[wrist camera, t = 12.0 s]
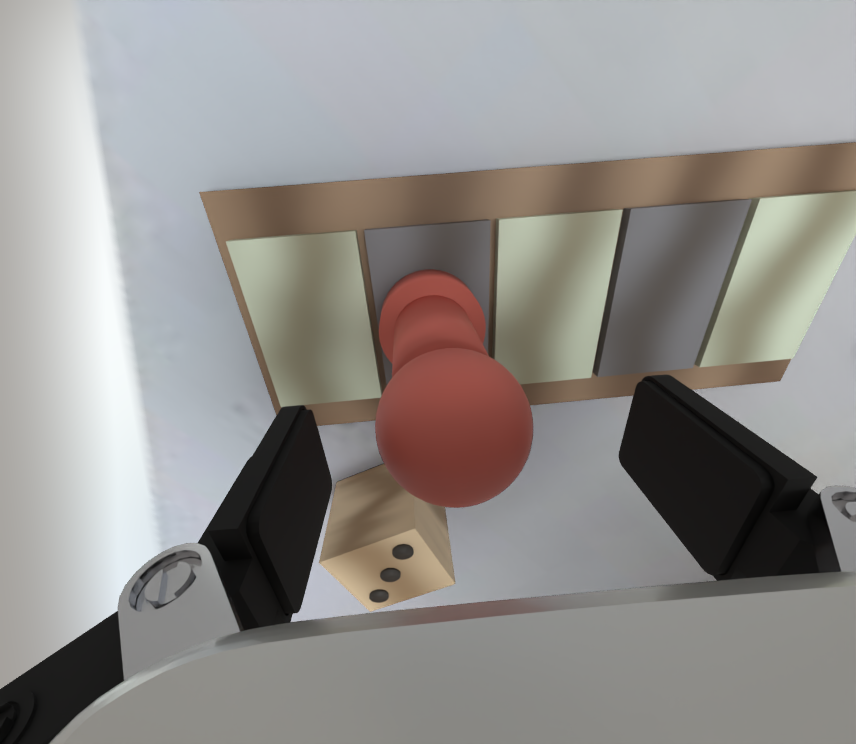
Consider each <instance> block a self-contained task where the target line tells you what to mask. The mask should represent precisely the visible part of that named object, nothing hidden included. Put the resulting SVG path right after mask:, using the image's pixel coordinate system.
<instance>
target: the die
mask: <svg viewBox="0 0 856 744" xmlns="http://www.w3.org/2000/svg"><path fill="white" fill-rule="evenodd" d="M319 563H320V564H321V565H322V566H323V567H324V568H325V569H326V570H327V571H328V572H329V573H330V574H331V575H332V576H333V577H335V578H336V579H337V580H338V581H339V582H340V583H341V584H342V585H343V586H344V587H345V588H346V589H347V590H348V591H349V592H350V593H351V594H352V595H353V596H354V597H355V598H356V599H357V600H358V601H359V602H361V603H362V604H363V605H364V606H365V607H366V608H367V609H368V610H369V611H370V612H371V611H374V610H377V609H380V608H383V607H386V606H389V605H392V604H395V603H398V602H401V601H404V600H408V599H411V598H414V597H417V596H420V595H423V594H426V593H429V592H432V591H435V590H438V589H441V588H444V587H447V586H451V585H454V584H455V577H454V570H453V563H452V555H451V548H450V541H449V534H448V526H447V519H446V512H445V507H443V506H437V505H433V504H430V503H427V502H425V501H423V500H421V499H419V498H417V497H415V496H413V495H412V494H410V493H409V492H408V491H406V490H405V489H404V488H403V487H402V486H400V485H399V484H398V483H397V481H396V480H395V479H394V478H393V477H392V475H391V474H390V473H389V471H388V470H387V468H386V466H385V464H382V465H379V466H377V467H374V468H372V469H369V470H367V471H364V472H361V473H359V474H356V475H354V476H351V477H349V478H346V479H343V480H341V481H338V482H337V483H336V487H335V492H334V497H333V501H332V506H331V510H330V515H329V520H328V524H327V529H326V533H325V538H324V542H323V547H322V552H321V556H320V561H319Z"/></svg>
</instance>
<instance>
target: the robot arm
mask: <svg viewBox="0 0 856 744" xmlns="http://www.w3.org/2000/svg"><path fill="white" fill-rule="evenodd" d="M619 460H620V463H621V465H622V467H623V468H624V469H625V470H626V472H627V473H628V474H629V476H630V477H631V478H632V479H633V481H634V482H635V483H636V484H637V486H638V487H639V488H640V490H641V491H642V492H643V493H644V495H645V496H646V497H647V498H648V500H649V501H650V502H651V504H652V505H653V506H654V507H655V509H656V510H657V511H658V513H659V514H660V515H661V516H662V518H663V519H664V520H665V521H666V523H667V524H668V525H669V527H670V528H671V529H672V530H673V532H674V533H675V534H676V536H677V537H678V538H679V539H680V541H681V542H682V543H683V544H684V546H685V547H686V548H687V550H688V551H689V552H690V553H691V555H692V556H693V557H694V559H695V560H696V561H697V562H698V564H699V565H700V566H701V567H702V569H703V570H704V571H705V572H707V573H708V574H711V575H713V576H714V577H715V579H716V580H717V581H709V582H698V583H686V584H675V585H663V586H651V587H640V588H629V589H618V590H607V591H596V592H585V593H574V594H563V595H552V596H542V597H531V598H520V599H509V600H498V601H488V602H478V603H467V604H457V605H447V606H437V607H426V608H416V609H406V610H396V611H385V612H375V613H366V614H358V615H349V616H340V617H332V618H323V619H315V620H306V621H297V622H290V621H291V618H292V614H293V613H298V612H299V610H300V608H301V605H302V602H303V598H304V594H305V590H306V586H307V582H308V579H309V575H310V571H311V567H312V563H313V559H314V556H315V552H316V548H317V544H318V540H319V537H320V533H321V529H322V525H323V521H324V517H325V514H326V510H327V506H328V502H329V498H330V494H331V490H332V480H331V475H330V472H329V468H328V464H327V461H326V457H325V453H324V450H323V446H322V443H321V439H320V435H319V432H318V428H317V424H316V421H315V417H314V414H313V411H312V410H311V409H310V410H307V409H306V407H305V406H304V405H297V406H285V407H282V408H281V409H280V411H279V412H278V414H277V416H276V417H275V419H274V421H273V422H272V424H271V426H270V427H269V429H268V431H267V433H266V434H265V436H264V438H263V439H262V441H261V443H260V444H259V446H258V448H257V449H256V451H255V453H254V454H253V456H252V457H250V459H249V460H248V461H247V462H246V464H245V466H244V467H243V469H242V471H241V472H240V474H239V476H238V477H237V479H236V481H235V482H234V484H233V486H232V487H231V489H230V491H229V492H228V494H227V495H226V497H225V499H224V500H223V502H222V504H221V505H220V507H219V509H218V510H217V512H216V514H215V515H214V517H213V519H212V520H211V522H210V524H209V525H208V527H207V528H206V530H205V532H204V533H203V535H202V537H201V538H200V540H199V542H198V543H186V544H182V545H178V546H174V547H172V548H170V549H168V550H166V551H164V552H162V553H160V554H158V555H157V556H155V557H154V558H152V559H151V560H149V561H148V562H147V563H146V564H144V565H143V566H142V567H141V568H140V569H139V570H138V571H137V572H136V573H135V574H134V575H133V576H132V578H131V579H130V580H129V581H128V583H127V584H126V585H125V587H124V589H123V591H122V593H121V595H120V597H119V603H118V611H117V612H115V613H114V614H112V615H111V616H109V617H108V618H106V619H105V620H103V621H102V622H100V623H99V624H97V625H96V626H94V627H93V628H91V629H90V630H88V631H87V632H85V633H84V634H82V635H81V636H79V637H78V638H76V639H75V640H74V641H72V642H70V643H69V644H67V645H66V646H64V647H63V648H61V649H60V650H58V651H57V652H55V653H54V654H52V655H51V656H49V657H48V658H46V659H45V660H43V661H42V662H40V663H39V664H38V665H36V666H34V667H33V668H31V669H30V670H28V671H27V672H25V673H24V674H22V675H21V676H19V677H18V678H16V679H15V680H13V681H12V682H10V683H9V684H7V685H6V686H4V687H3V688H1V689H0V744H856V488H854V487H849V486H830V487H826V488H825V489H823V490H822V491H821V492H820V494H817V493H816V492H815V491H813V490H812V489H810V488H811V486H812V485H813V483H814V482H815V480H816V478H817V476H815V475H814V474H812V473H811V472H809V471H808V470H807V469H805V468H804V467H802V466H801V465H799V464H798V463H796V462H795V461H794V460H792V459H791V458H789V457H788V456H786V455H785V454H783V453H782V452H781V451H779V450H778V449H776V448H775V447H773V446H772V445H770V444H769V443H768V442H766V441H765V440H763V439H762V438H760V437H759V436H757V435H756V434H755V433H753V432H752V431H750V430H749V429H747V428H746V427H744V426H743V425H742V424H740V423H739V422H737V421H736V420H734V419H733V418H731V417H730V416H729V415H727V414H726V413H724V412H723V411H721V410H720V409H719V408H717V407H716V406H714V405H713V404H711V403H710V402H708V401H707V400H706V399H704V398H703V397H701V396H700V395H698V394H697V393H695V392H694V391H693V390H691V389H690V388H688V387H687V386H685V385H684V384H682V383H681V382H680V381H678V380H677V379H675V378H674V377H672V376H670V375H667V374H664V375H652V376H646V377H644V378H643V379H642V381H641V382H638V384H637V385H636V388H635V392H634V396H633V400H632V404H631V408H630V412H629V416H628V420H627V424H626V427H625V431H624V435H623V439H622V443H621V447H620V451H619Z"/></svg>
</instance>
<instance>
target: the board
mask: <svg viewBox="0 0 856 744" xmlns="http://www.w3.org/2000/svg"><path fill="white" fill-rule="evenodd" d="M199 193H200V196H201V199H202V202H203V204H204V207H205V210H206V213H207V216H208V219H209V222H210V225H211V228H212V230H213V233H214V236H215V239H216V242H217V245H218V248H219V251H220V253H221V256H222V259H223V262H224V265H225V268H226V271H227V274H228V277H229V279H230V282H231V285H232V288H233V291H234V294H235V297H236V300H237V303H238V305H239V308H240V311H241V314H242V317H243V320H244V323H245V326H246V328H247V331H248V334H249V337H250V340H251V343H252V346H253V349H254V352H255V354H256V357H257V360H258V363H259V366H260V369H261V372H262V375H263V378H264V380H265V383H266V386H267V389H268V392H269V395H270V398H271V401H272V403H273V406H274V409H275V412H276V415H277V414H278V412H279V411H280V409H281V408H282V407H285V406H297V405H304V406H305V407H306V409H307V410H310V409H311V410H312V411H313V414H314V417H315V421H316V424H317V426H321V425H332V424H342V423H352V422H363V421H373V420H376V413H377V409H378V405H379V401H380V399H381V396H382V394H383V392H384V390H385V388H386V386H387V384H388V383H389V381H390V380H391V379H392V365H393V364H392V363H391V362H390V361H389V359H388V358H387V357H386V355H385V353H384V351H383V349H382V346H381V343H380V339H379V323H380V317H381V311H382V306H383V303H384V300H385V298H386V296H387V294H388V292H389V291H390V289H391V288H392V287H393V286H394V285H395V284H396V283H397V282H398V281H399V280H400V279H402V278H403V277H405V276H406V275H408V274H411V273H413V272H416V271H420V270H429V269H434V270H441V271H445V272H448V273H450V274H452V275H454V276H456V277H457V278H459V279H460V280H461V281H463V282H464V283H465V284H466V285H467V287H468V288H469V289H470V291H471V292H472V294H473V295H474V297H475V298H476V300H477V301H478V303H479V304H480V306H481V308H482V311H483V314H484V317H485V324H486V331H485V338H484V342H483V346H484V348H485V350H486V351H487V353H488V355H489V357H491V358H493V359H494V360H496V361H497V362H499V363H500V364H501V365H503V366H504V367H505V368H506V369H507V370H508V371H509V372H510V373H512V375H513V376H514V377H515V378H516V380H517V381H518V382H519V384H520V385H521V387H522V389H523V391H524V392H525V394H526V397H527V399H528V402H529V405H538V404H549V403H559V402H569V401H580V400H590V399H600V398H611V397H621V396H631V395H634V392H635V388H636V385H637V384H638V382H641V381H642V379H643V378H644V377H646V376H652V375H664V374H667V375H670V376H672V377H674V378H675V379H677V380H678V381H680V382H681V383H682V384H684V385H685V386H687V387H688V388H690V389H691V390H693V389H704V388H714V387H724V386H735V385H745V384H755V383H766V382H776V381H780V380H781V378H782V376H783V374H784V372H785V370H786V368H787V366H788V364H789V362H790V360H791V359H793V358H794V356H795V354H796V352H797V350H798V348H799V346H800V344H801V342H802V340H803V338H804V336H805V334H806V332H807V330H808V328H809V326H810V324H811V322H812V320H813V318H814V316H815V314H816V312H817V310H818V308H819V306H820V304H821V302H822V300H823V298H824V296H825V294H826V292H827V290H828V288H829V286H830V284H831V282H832V280H833V278H834V276H835V274H836V272H837V270H838V268H839V266H840V264H841V262H842V260H843V258H844V256H845V254H846V252H847V251H848V249H849V247H850V245H851V243H852V241H853V239H854V237H855V235H856V142H854V143H841V144H828V145H815V146H802V147H788V148H775V149H762V150H749V151H736V152H723V153H709V154H696V155H683V156H670V157H657V158H644V159H630V160H617V161H604V162H591V163H578V164H565V165H551V166H538V167H525V168H512V169H499V170H486V171H472V172H459V173H446V174H433V175H420V176H407V177H393V178H380V179H367V180H354V181H341V182H328V183H314V184H301V185H288V186H275V187H262V188H249V189H235V190H222V191H209V192H199Z"/></svg>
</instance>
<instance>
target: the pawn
mask: <svg viewBox="0 0 856 744" xmlns="http://www.w3.org/2000/svg"><path fill="white" fill-rule="evenodd" d="M485 331H486V324H485V317H484V314H483V311H482V308H481V306H480V304H479V303H478V301H477V300H476V298H475V297H474V295H473V294H472V292H471V291H470V289H469V288H468V287H467V285H466V284H465V283H464V282H463V281H461V280H460V279H459V278H457V277H456V276H454V275H452V274H450V273H448V272H445V271H441V270H434V269H429V270H420V271H416V272H413V273H411V274H408V275H406V276H405V277H403V278H402V279H400V280H399V281H398V282H397V283H396V284H395V285H394V286H393V287H392V288H391V289H390V291H389V292H388V294H387V296H386V298H385V300H384V303H383V306H382V311H381V317H380V323H379V339H380V343H381V346H382V349H383V351H384V353H385V355H386V357H387V358H388V359H389V361H390V362H391V363H392V364H393V365H392V379H391V380H390V381H389V383H388V384H387V386H386V388H385V390H384V392H383V394H382V396H381V399H380V401H379V405H378V409H377V413H376V422H375V433H376V441H377V445H378V449H379V453H380V455H381V458H382V460H383V462H384V464H385V466H386V468H387V470H388V471H389V473H390V474H391V475H392V477H393V478H394V479H395V480H396V481H397V483H398V484H399V485H400V486H402V487H403V488H404V489H405V490H406V491H408V492H409V493H410V494H412V495H413V496H415V497H417V498H419V499H421V500H423V501H425V502H427V503H430V504H433V505H437V506H443V507H454V508H458V507H468V506H473V505H477V504H480V503H483V502H485V501H487V500H490V499H491V498H493V497H495V496H497V495H498V494H500V493H501V492H503V491H504V490H505V489H506V488H507V487H508V486H510V484H511V483H512V482H513V481H514V480H515V479H516V478H517V476H518V475H519V473H520V472H521V471H522V469H523V467H524V465H525V463H526V461H527V459H528V456H529V453H530V449H531V445H532V439H533V418H532V412H531V408H530V405H529V402H528V399H527V397H526V394H525V392H524V391H523V389H522V387H521V385H520V384H519V382H518V381H517V380H516V378H515V377H514V376H513V375H512V373H510V372H509V371H508V370H507V369H506V368H505V367H504V366H503V365H501V364H500V363H499V362H497V361H496V360H494V359H493V358H491V357H489V355H488V353H487V351H486V350H485V348H484V346H483V342H484V338H485Z"/></svg>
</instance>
